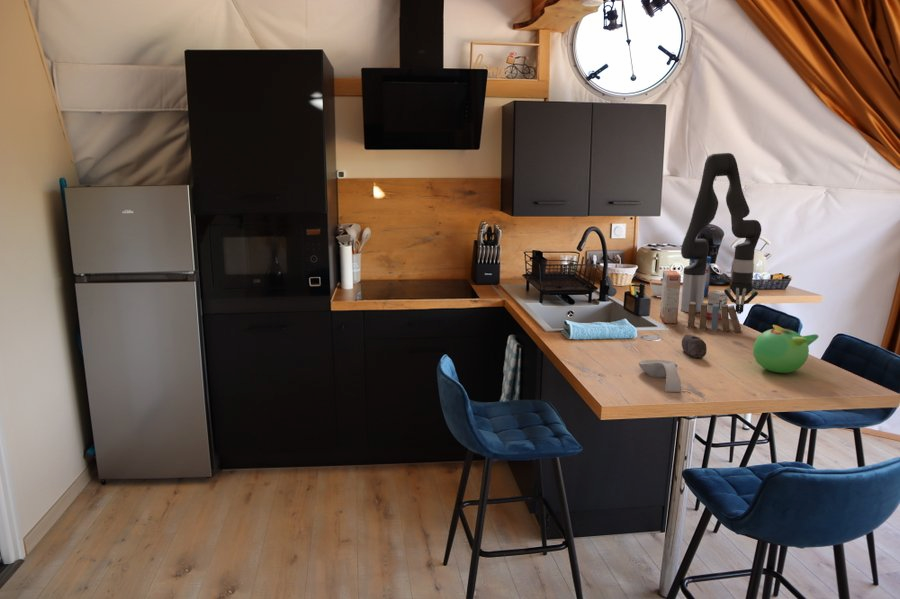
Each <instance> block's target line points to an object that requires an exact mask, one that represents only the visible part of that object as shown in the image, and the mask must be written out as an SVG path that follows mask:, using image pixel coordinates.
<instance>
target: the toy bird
mask: <svg viewBox="0 0 900 599" xmlns="http://www.w3.org/2000/svg"><path fill="white" fill-rule="evenodd" d="M772 327H773V328H771V329H767V330H765V331H763V332H762V333H761V334H760V335H758V337H757V338H756V340H755V341H754V344H753V348H752V354H753V357H754V359H755V361H756V362H757V364H758V365H760V366H761V367H762V368H764V369H765V370H768V371H770V372H773V373H777V374H788V373H792V372H796V371H797V370H800V368H802V367H803V366H804V364H805V363H806V362H807V360H808V358H809V352H810V350H809V349H810V348H809V346H810V345H811V344H812V343H814V342H816V340H817V339H819V334H816V333H815V334H809V335H801V334H800V333H798V332H797V331H795V330H792V329H790V328H783V327H781V326H779V325H777V324H772Z"/></svg>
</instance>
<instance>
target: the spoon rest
mask: <svg viewBox="0 0 900 599" xmlns="http://www.w3.org/2000/svg"><path fill="white" fill-rule="evenodd" d="M638 366H639V367H640V369H641V370H642V371H643V372H644V373H645V374H647V375H648V376H650V377H653V378H665V386H664V392H665V393H681V392H682V386H681V380H680V379H681V378H680V376H679V373H678V370H677V367H678V363H676V362H675V361H670V360H666V359H644V360H643V359H642V360H640V361H638Z"/></svg>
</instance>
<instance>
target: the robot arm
mask: <svg viewBox="0 0 900 599" xmlns="http://www.w3.org/2000/svg"><path fill="white" fill-rule="evenodd" d="M716 177H726V178H727V179H728V184H729V185H728V189H727V192H726V195H725V203H726V206H727V209H728V211H729V213H730V220H731V221H730V222H731V233H732V234H733V235H734V237H736V238H737V239H744V241H743V242H742V243H739V244H736V246H735V249H734V255H733V256H734V259H733V264H732V272H731V273H732V274H731V283H730V284H729V287H728V288H725V289H723V291H724V292H725V294H726V295H727V296H728V298H727V299H729V301H730V302H731V303H734V304H735V311H736V314H737V315H741V314H742V313H743V312H744V307H745V305H746V304H747V305H748V304H749V303H750V302H751V301H752V300H754V299H755V297H757V296H758V294H759V291H758V290H756V289H754V286H753V278H754V271H755V270H754V268H755V263H754V260H755V250H756V247H757V244H758V241H759V239H760V237H761V234H762V225H761V223H760V221H759V220H756V219H745V218H747V216H749V215H750V213H751V212H750V211H751V210H750V207H749V205H748V202H747V200H746V198H745V194H744V192H743V187H742V183H741V177H740V173H739V167H738V163H737V160H736V157H735V156H734V154H733V153H731V152H721V153H720V152H719V153H712V154H711V153H710V154H709V155H708V156H707V157H706V159H705V162H704V167H703V171H702V177H701V182H700V187H699V190H698V194H697V198H696V201H695V202H694V203H695V204H694V207H693V211H692V215H691V218H690V223H689V226H688V228H687V231H686V234H685V236H684V238H683V240H682V241H683V242H682V244H681V248H680V249H681V250H680V255H681V256H682V258H683V259H685V260H690V259H696V261H695V262H694V263H693V264H691V265H689V264H688V265H687V266H684V267H683V277H682V287H681V288H682V290H681V302H680V305H681V306H680V311H681V312H685V313H689V304H690V302H696V311H695V314H696V313H700V312H701V304H702V303H704V300H705V298H704V280H705V270H706V266H707V257H709V256H708V255H709V242H708V240H707V239H706V238H698V236H699V234H700V233H701V232H702V231H703V230H705V229H706V228H707V227H708V226H709V225H710V224H711V223H712V222H713V220H714V219H715V218H716V214H717V211H718V208H719V200H718V197H717V194H716V192H715V190H714V182H715V179H716ZM731 292H732V293H733V294H734V295H735V298H734V296H733V295H732V294H731ZM749 294H750V296H749V297H748V298H747V299H746V297H747V296H748V295H749ZM740 296H741V298H740Z"/></svg>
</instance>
